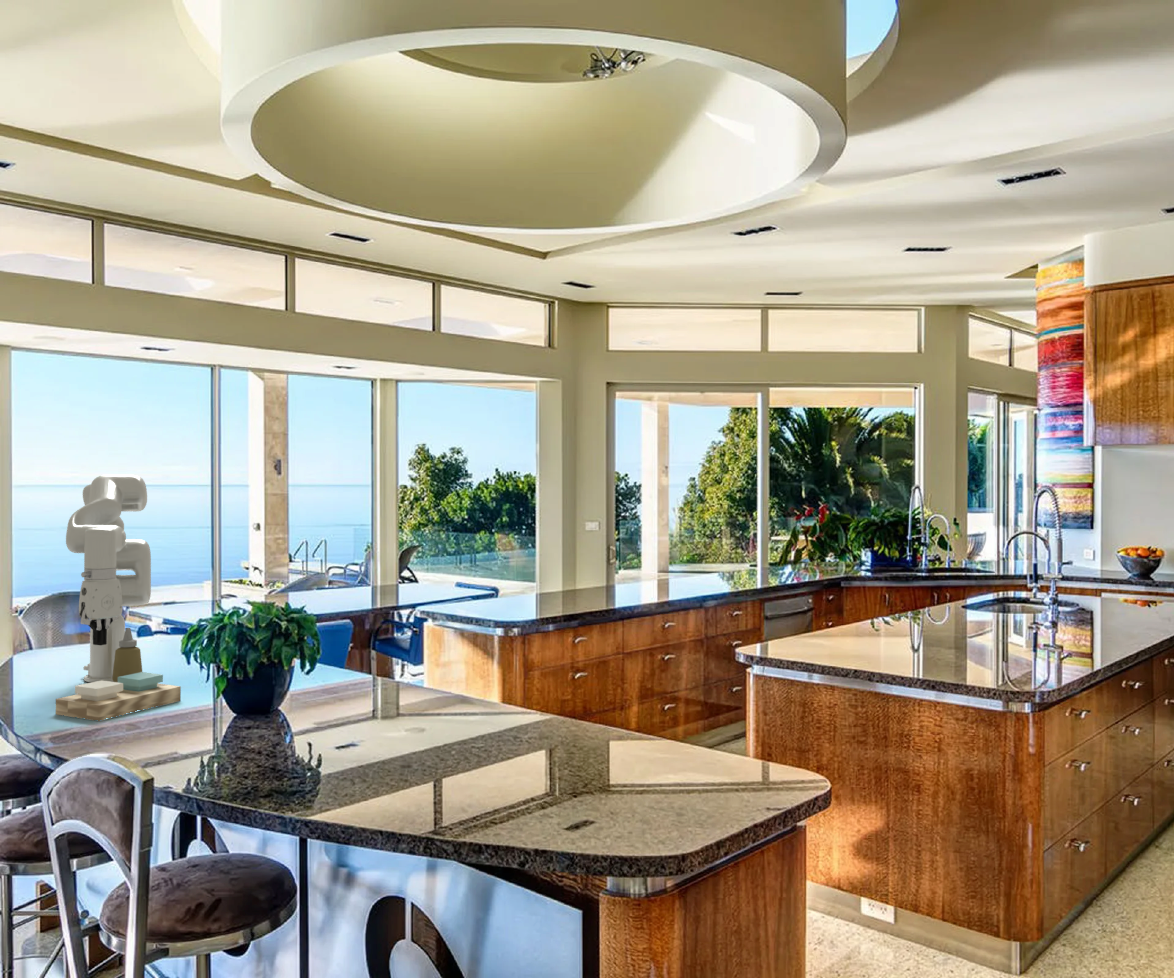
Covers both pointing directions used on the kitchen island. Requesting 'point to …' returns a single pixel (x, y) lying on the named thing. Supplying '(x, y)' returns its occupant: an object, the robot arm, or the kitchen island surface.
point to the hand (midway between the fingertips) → (99, 644)
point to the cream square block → (99, 690)
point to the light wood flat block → (117, 703)
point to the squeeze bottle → (127, 657)
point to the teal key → (140, 681)
